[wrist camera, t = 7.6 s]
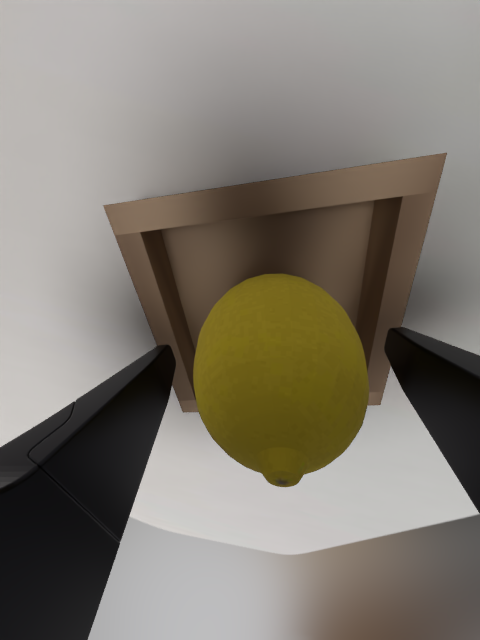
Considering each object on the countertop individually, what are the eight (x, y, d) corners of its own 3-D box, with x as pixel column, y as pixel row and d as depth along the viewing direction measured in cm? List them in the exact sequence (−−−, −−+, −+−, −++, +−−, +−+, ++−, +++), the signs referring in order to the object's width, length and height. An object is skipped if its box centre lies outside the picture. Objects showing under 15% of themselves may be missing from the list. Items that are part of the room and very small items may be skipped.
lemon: (196, 287, 11) (94, 443, 4) (298, 224, 9) (391, 331, 3) (252, 360, 13) (241, 541, 7) (344, 322, 12) (461, 520, 5)
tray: (399, 161, 9) (494, 143, 5) (361, 372, 14) (395, 430, 11) (135, 202, 10) (73, 208, 7) (193, 381, 15) (175, 436, 12)
